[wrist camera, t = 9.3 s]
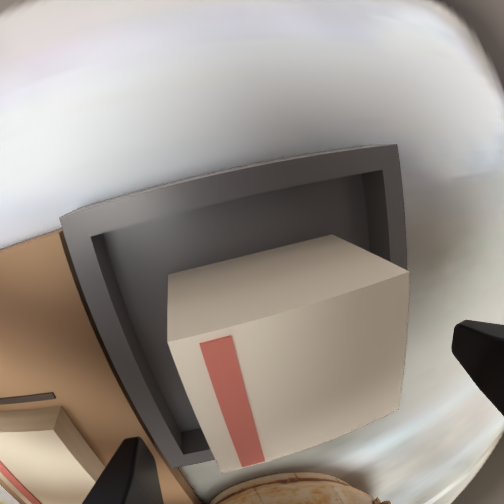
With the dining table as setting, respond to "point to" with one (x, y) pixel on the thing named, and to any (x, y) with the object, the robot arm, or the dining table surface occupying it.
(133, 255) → the tray
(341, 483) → the trinket box
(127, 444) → the robot arm
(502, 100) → the dining table surface
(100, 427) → the board
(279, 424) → the stub
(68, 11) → the dining table surface
